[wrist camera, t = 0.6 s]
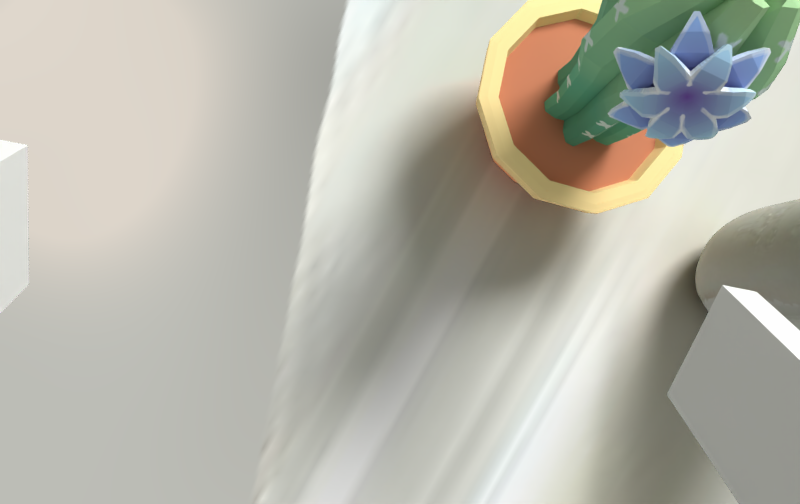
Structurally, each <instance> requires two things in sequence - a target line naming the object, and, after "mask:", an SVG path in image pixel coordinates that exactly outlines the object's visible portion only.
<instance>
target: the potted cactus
mask: <svg viewBox="0 0 800 504" xmlns="http://www.w3.org/2000/svg"><path fill="white" fill-rule="evenodd" d="M799 23H800V0H529V1H527V2H526V3H525V4H524V5H523V6H522V7H521V8H520V9H519V10H518V11H517V12H516V13H515V14H514V15H513V17H512V18H511V19H510V20H509V21H508V22H507V23H506V24H505V25H504V26H503V27H502V28H501V29H500V30H499V31H498V32H497V33H496V34H495V35H494V36H493V37H492V38H491V39H490V42H489V45H488V49H487V53H486V57H485V62H484V67H483V72H482V77H481V81H480V86H479V91H478V96H477V101H476V106H477V109H478V112H479V116H480V119H481V122H482V125H483V128H484V133H485V137H486V140H487V143H488V146H489V149H490V152H491V156H492V159H493V161H494V162H495V163H496V164H497V165H498V166H499V167H500V168H501V169H502V170H503V171H504V172H505V173H506V174H507V175H508V176H509V177H510V178H511V179H512V180H513V181H514V182H516V183H518V184H519V185H521V186H522V187H523V188H524V189H525V190H526V191H527V192H528V193H529V194H530V195H531V196H532V197H533V198H534V199H538V200H541V201H545V202H549V203H552V204H556V205H559V206H563V207H567V208H570V209H574V210H578V211H581V212H585V213H594V214H597V213H601V212H604V211H607V210H611V209H614V208H617V207H620V206H624V205H627V204H630V203H633V202H637V201H640V200H643V199H646V198H648V197H649V196H650V195H651V194H652V192H653V191H654V190H655V189H656V188H657V186H658V185H659V184H660V183H661V182H662V180H663V179H664V178H665V177H666V175H667V174H668V173H669V172H670V171H671V169H672V168H673V167H674V166H675V165H676V163H677V162H678V161H679V160H680V158H681V157H682V151H683V144H685V143H687V142H689V141H692V140H694V139H696V140H703V139H710V138H713V137H714V136H715V135H716V134H717V133H718V131H721V130H725V129H729V128H732V127H735V126H737V125H740V124H743V123H745V122H748V121H749V120H750V119H751V116H750V114H749V112H748V111H747V109H746V108H745V106H746V105H747V104H748V103H749V102H750V101H751V100H753V99H755V98H757V97H758V96H759V95H761V94H762V93H764V92H765V91H766V90H768V88H769V87H770V85H771V84H772V82H773V81H774V79H775V78H776V76H777V75H778V73H779V72H780V71H781V69H782V68H783V66H784V65H785V63H786V61H787V58H788V55H789V52H790V49H791V46H792V43H793V40H794V37H795V34H796V31H797V29H798V26H799Z"/></svg>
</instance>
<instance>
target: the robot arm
mask: <svg viewBox="0 0 800 504" xmlns="http://www.w3.org/2000/svg"><path fill="white" fill-rule="evenodd" d="M28 240H29V238H28V145H24V144H19V143H14V142H9V141H4V140H0V313H1V312H2V311H3V310H4V309H5V308H6V307H7V306H8V305H9V304H10V303H11V302H12V301H13V300H14V299H15V298H16V297H17V296H18V295H19V294H20V293H21V292H22V291H23V290H24V289H25V288H26V287H27V286H28V285H29V241H28ZM667 396H668V397H669V399H670V400H671V402H672V403H673V405H674V406H675V408H676V409H677V411H678V412H679V414H680V415H681V417H682V418H683V420H684V421H685V423H686V424H687V426H688V427H689V429H690V431H691V432H692V434H693V435H694V437H695V438H696V440H697V441H698V443H699V444H700V446H701V447H702V449H703V450H704V452H705V453H706V455H707V456H708V458H709V459H710V461H711V462H712V464H713V465H714V467H715V468H716V470H717V471H718V473H719V474H720V476H721V477H722V479H723V481H724V482H725V484H726V485H727V487H728V488H729V490H730V491H731V493H732V494H733V496H734V497H735V499H736V500H737V502H738V503H739V504H800V330H798V329H797V328H796V327H795V326H794V325H793V324H792V323H791V322H790V321H788V320H787V319H786V318H785V317H784V316H783V315H782V314H781V313H780V312H778V311H777V310H776V309H775V308H774V307H773V306H772V305H771V304H770V303H768V302H767V301H766V300H765V299H764V298H763V297H762V296H761V295H760V294H758V293H757V292H755V291H750V290H745V289H740V288H735V287H730V286H725V285H722V287H721V289H720V290H719V292H718V294H717V296H716V298H715V300H714V302H713V304H712V306H711V308H710V310H709V312H708V314H707V316H706V318H705V320H704V322H703V324H702V326H701V328H700V330H699V332H698V334H697V336H696V338H695V340H694V342H693V344H692V346H691V348H690V349H689V351H688V353H687V355H686V357H685V359H684V361H683V363H682V365H681V367H680V369H679V371H678V373H677V375H676V377H675V379H674V381H673V383H672V385H671V387H670V389H669V391H668V393H667Z"/></svg>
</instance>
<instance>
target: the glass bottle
mask: <svg viewBox="0 0 800 504" xmlns="http://www.w3.org/2000/svg"><path fill="white" fill-rule="evenodd" d="M695 284H696V290H697V293H698V295H699V297H700V299H701V300H702V302H703V304H704V306H705V308H706V309H707V311H708V312H709V310H710V308H711V306H712V304H713V302H714V300H715V298H716V296H717V294H718V292H719V290H720V289H721V287H722V285H725V286H730V287H735V288H740V289H745V290H750V291H755V292H757V293H758V294H760V295H761V296H762V297H763V298H764V299H765V300H766V301H767V302H768V303H770V304H771V305H772V306H773V307H774V308H775V309H776V310H777V311H778V312H780V313H781V314H782V315H783V316H784V317H785V318H786V319H787V320H788V321H790V322H791V323H792V324H793V325H794V326H795V327H796V328H797V329H798V330H800V199H797V200H793V201H789V202H784V203H780V204H775V205H771V206H767V207H764V208H760V209H757V210H754V211H751V212H748V213H746V214H744V215H742V216H739V217H738V218H736V219H734V220H732V221H731V222H729V223H727V224H726V225H725V226H723V227H722V228H721V229H720V230H719V231H717V232H716V233H715V234H714V235H713V237H712V238H711V239H710V240H709V241H708V243H707V244H706V246H705V248H704V250H703V252H702V254H701V256H700V259H699V262H698V265H697V268H696V275H695Z"/></svg>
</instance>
